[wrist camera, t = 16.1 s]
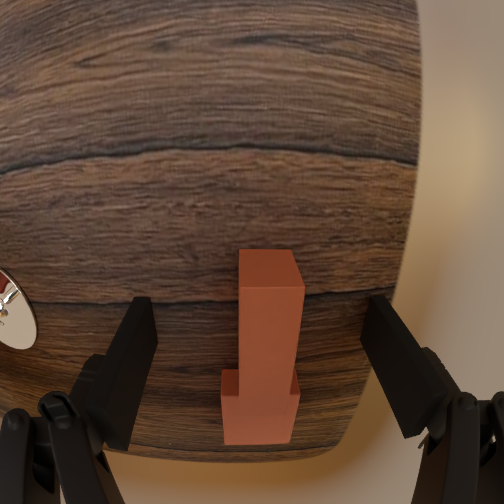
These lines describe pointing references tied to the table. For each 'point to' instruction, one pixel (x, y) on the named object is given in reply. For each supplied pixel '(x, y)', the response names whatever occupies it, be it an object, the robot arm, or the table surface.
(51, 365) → the table surface
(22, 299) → the wineglass
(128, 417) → the robot arm
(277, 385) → the red offset step block
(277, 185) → the table surface
